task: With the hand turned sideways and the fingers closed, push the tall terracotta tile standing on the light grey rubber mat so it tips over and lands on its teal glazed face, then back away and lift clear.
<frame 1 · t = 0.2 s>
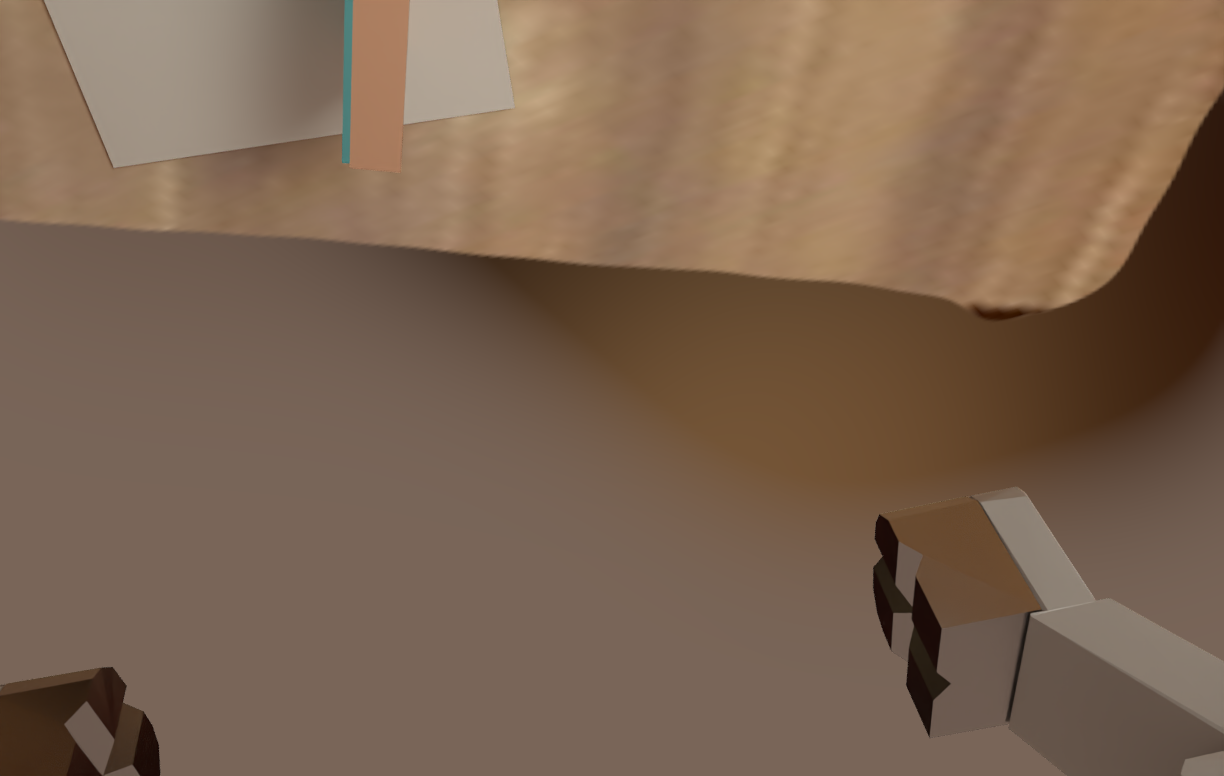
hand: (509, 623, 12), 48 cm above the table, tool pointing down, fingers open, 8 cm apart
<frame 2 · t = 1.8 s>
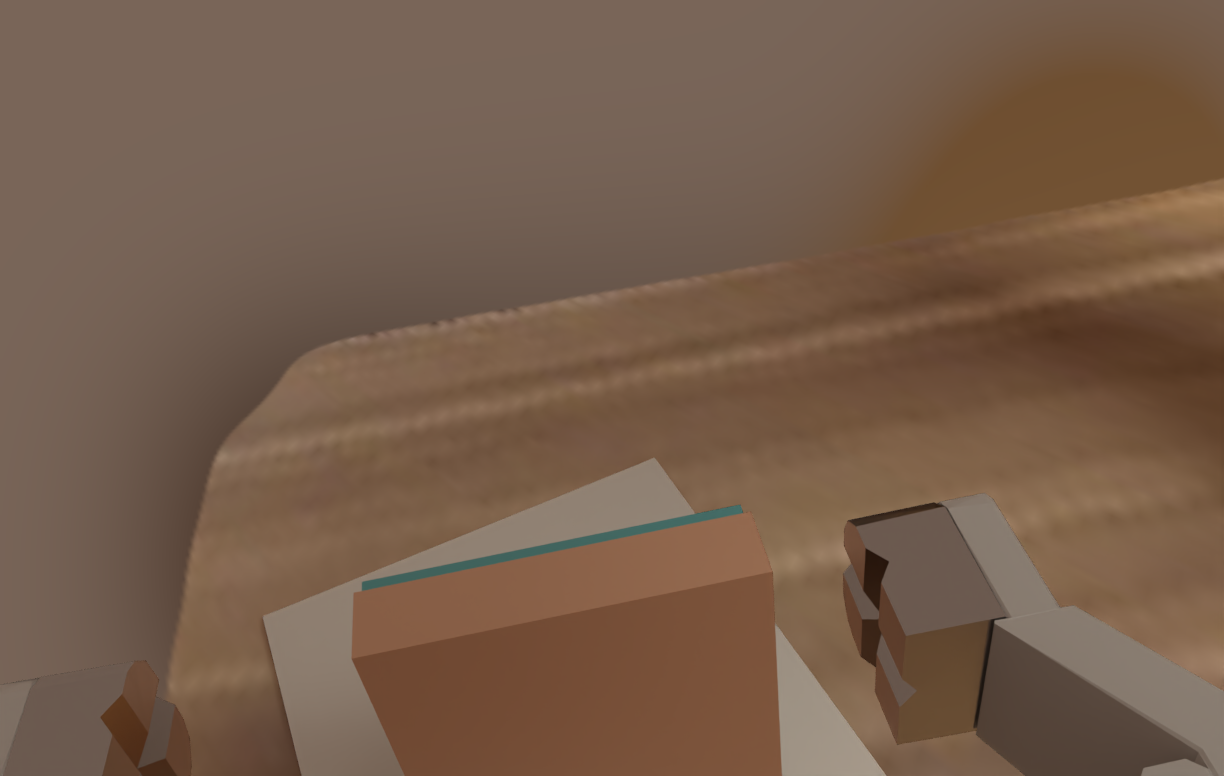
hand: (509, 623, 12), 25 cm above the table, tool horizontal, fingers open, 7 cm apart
mat: (558, 726, 40), on the table
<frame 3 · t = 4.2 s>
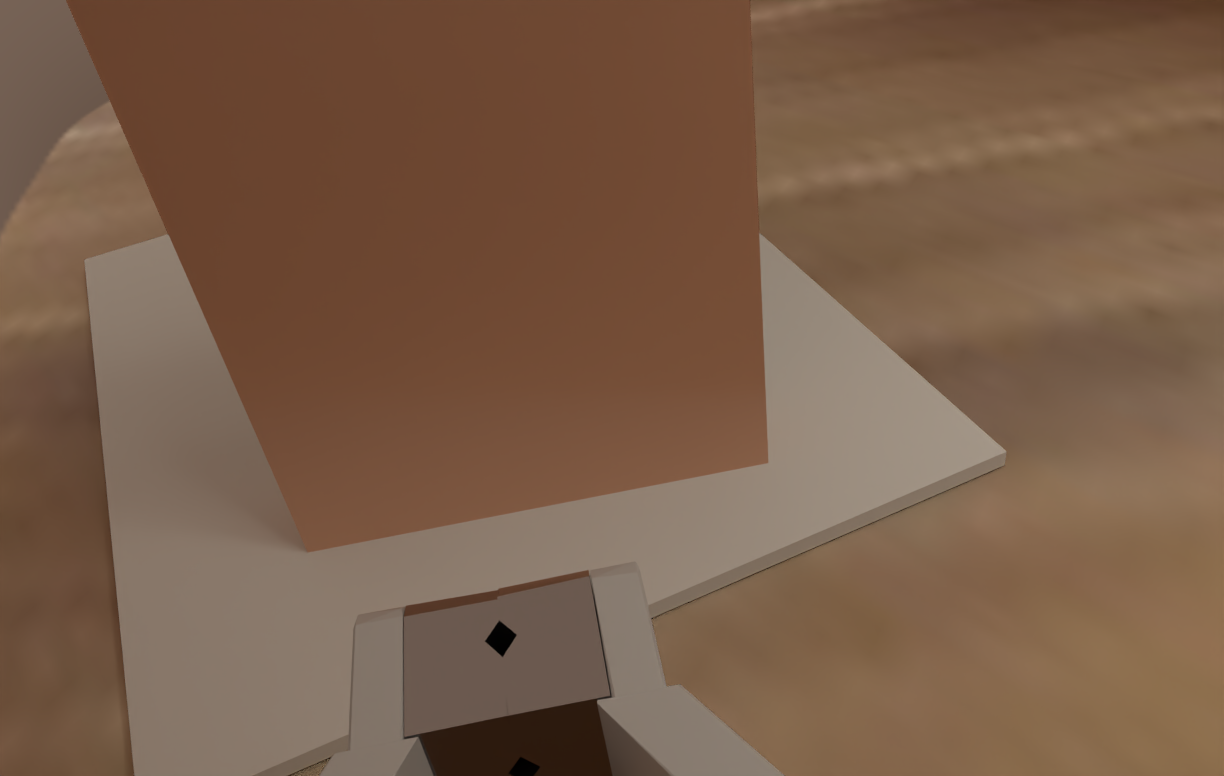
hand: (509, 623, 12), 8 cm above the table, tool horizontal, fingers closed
tile: (535, 475, 24), resting on mat
mat: (458, 348, 29), on the table
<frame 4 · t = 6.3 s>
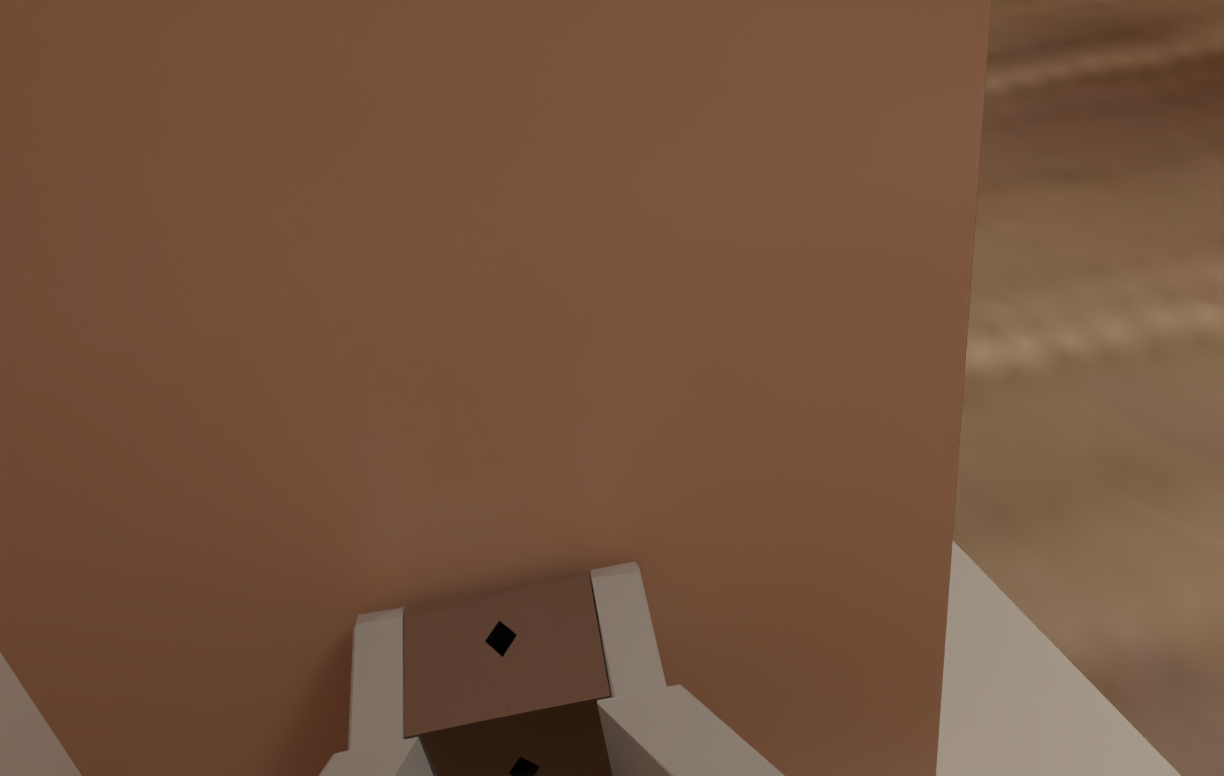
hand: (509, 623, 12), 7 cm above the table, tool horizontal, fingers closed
mat: (469, 627, 21), on the table
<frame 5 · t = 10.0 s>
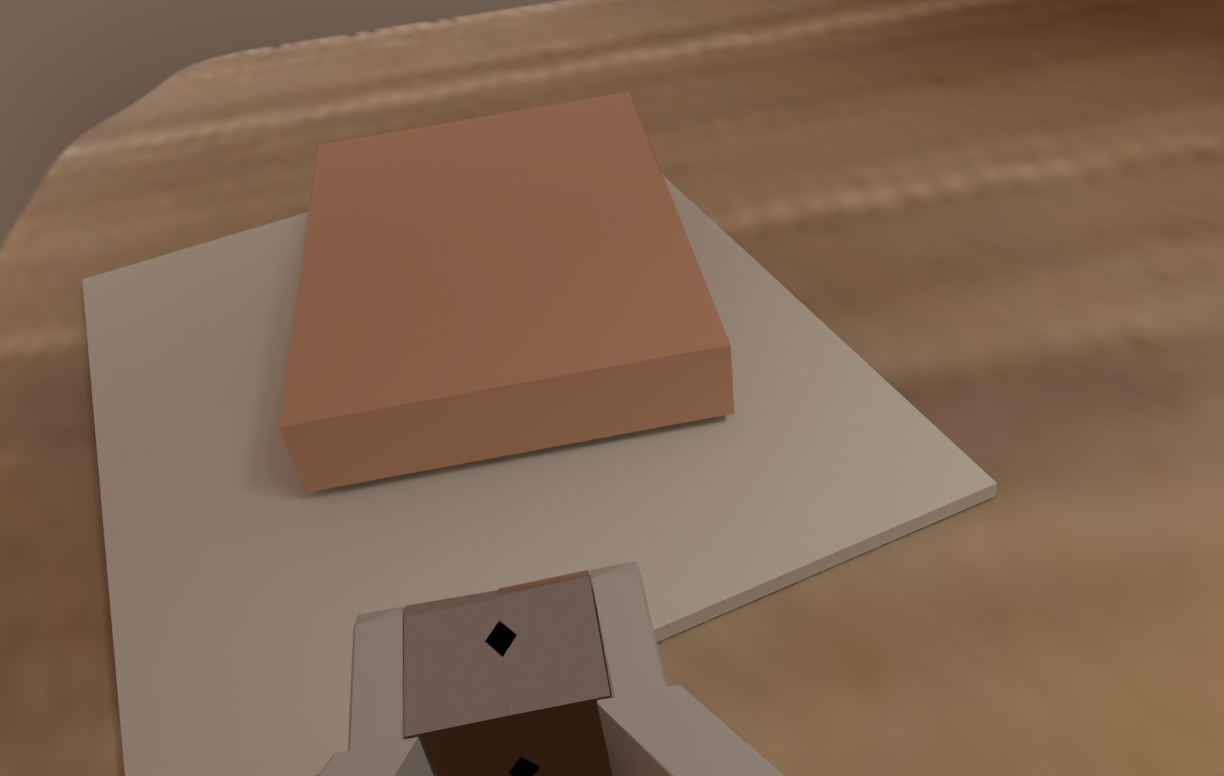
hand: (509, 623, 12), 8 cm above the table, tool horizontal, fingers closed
tile: (514, 419, 25), point 2 cm above the table, tilted 90°, touching mat
mat: (454, 373, 29), on the table
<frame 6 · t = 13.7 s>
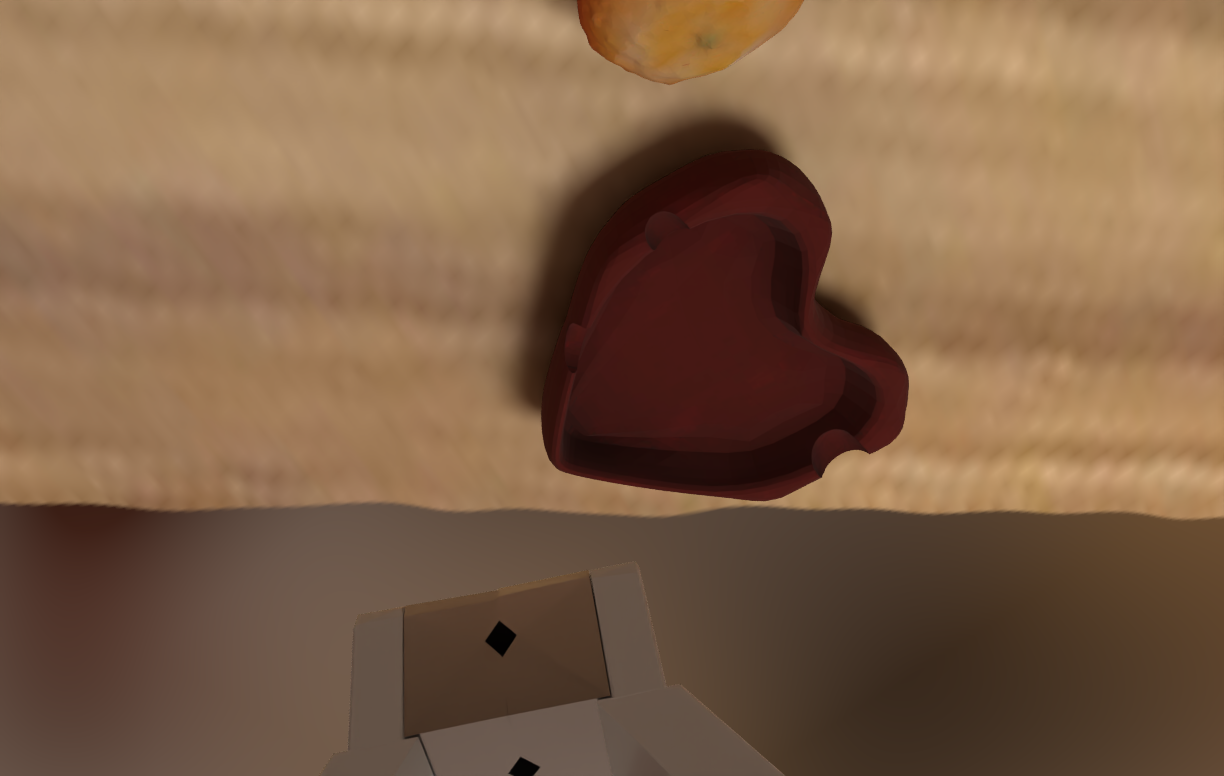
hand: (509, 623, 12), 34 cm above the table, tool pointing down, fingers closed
ashtray: (683, 324, 53), on the table
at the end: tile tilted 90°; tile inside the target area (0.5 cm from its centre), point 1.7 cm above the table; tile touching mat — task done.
